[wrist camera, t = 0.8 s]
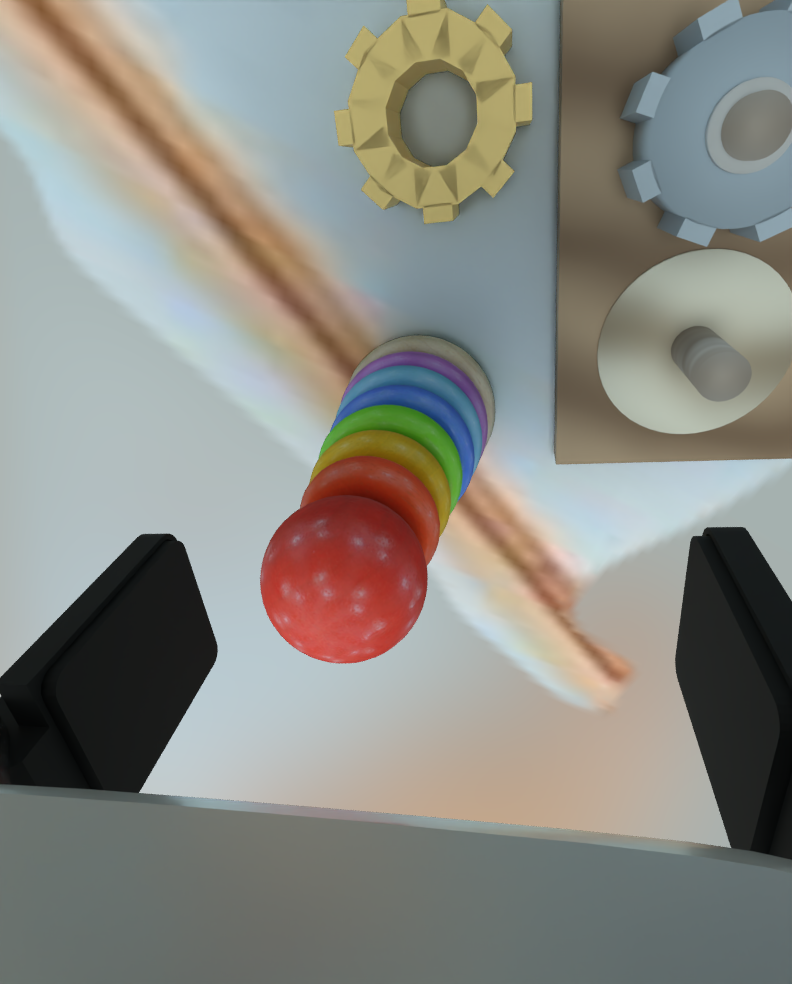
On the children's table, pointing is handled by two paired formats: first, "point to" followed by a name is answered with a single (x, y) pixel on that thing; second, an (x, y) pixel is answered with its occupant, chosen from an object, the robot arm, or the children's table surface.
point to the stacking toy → (378, 501)
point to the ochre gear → (384, 86)
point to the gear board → (660, 269)
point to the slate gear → (713, 127)
